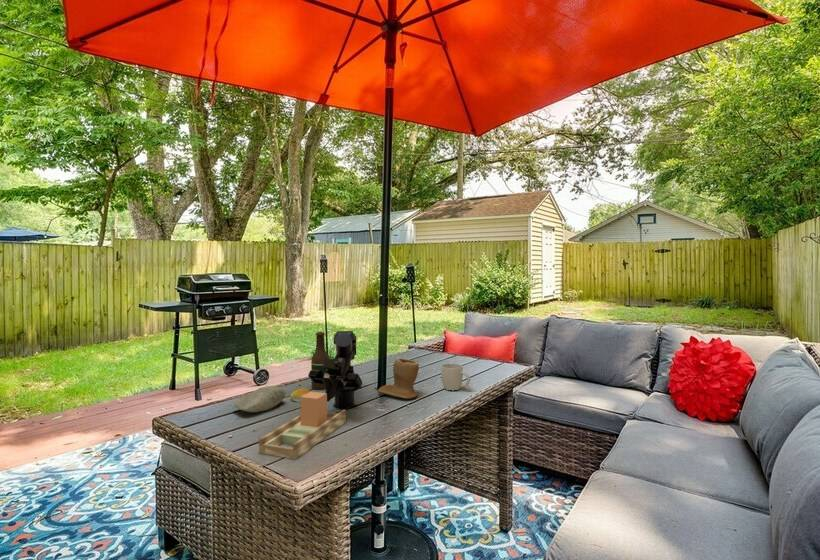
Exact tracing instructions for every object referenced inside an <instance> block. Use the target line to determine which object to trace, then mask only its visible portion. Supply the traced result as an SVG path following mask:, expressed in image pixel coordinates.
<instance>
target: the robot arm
mask: <svg viewBox="0 0 820 560" xmlns="http://www.w3.org/2000/svg"><path fill="white" fill-rule="evenodd" d="M333 344H334V345H335V351H336V354H335V356H334V358H329V359H324V362H323V367H322V368H325V369H326V372H327V373H329V374H323V373H322V371H321V370H311V369H310V370H309V373H308V374H307V376H308V378H309V379H310V380H311V383H312V382H313V383H314V384H321V385H322V384H323V383H325V387H326V389H325V393H327V403H328V402H330V401H331V400H332V399H333V398H334V404H333V405H332V406H333V407H335V408H338V409H341V410H348V409H350V408H354V407H357V406H358V405H357V403H355V392H356V391H357V390H358V389H362V386H363V380H362V378H361V377H360V374H359V373H356V372H355V370H354V366H353V365H351V364H352V361H353V360H355V358H356V357H355V356H357V335H356V334H355V333H354V331H353V330H336V333H335V334H334V335H333Z"/></svg>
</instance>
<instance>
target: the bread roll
mask: <svg viewBox="0 0 820 560" xmlns="http://www.w3.org/2000/svg"><path fill="white" fill-rule="evenodd" d="M309 392H312V391H311V390H310V389H308V388H306V387H304V388H303V387H301V388H297V389H295V390H294V391H292V392H291V395H290V396H289V398H290V400H291V401H292V402H294V401H295V403H301V396H303V395H305V394H307V393H309Z"/></svg>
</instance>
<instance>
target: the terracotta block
mask: <svg viewBox="0 0 820 560" xmlns="http://www.w3.org/2000/svg"><path fill="white" fill-rule="evenodd" d="M327 412H328V401H327V393H326V392H319V391H318V392H317V391H311V392H309V393H307V394H305V395H303V396H301V402H300V415H301V425H303V426H310V427H319V426H320V425H322V424H323V423H324V422H326V421H327Z"/></svg>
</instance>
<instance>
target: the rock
mask: <svg viewBox="0 0 820 560" xmlns="http://www.w3.org/2000/svg"><path fill="white" fill-rule="evenodd" d="M286 394H287V392H286V389H285V388H283V387H281V386H277V385H267V386H263V387H260V388H258V389H256V390H253V391H252V392H250V393H248V394H245V395H244V396H241V397H240V398H238V399H237V400H236V401H235V402H234V403H233V407H235V408H237V409H238V410H240V411H242V412H246V413H261V412H266V411H268V410H271V409H273V408H274V407H276V406H278V405H279V404H280V403H281V402H282V401H283V400H284V399H285V398H286Z"/></svg>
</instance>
